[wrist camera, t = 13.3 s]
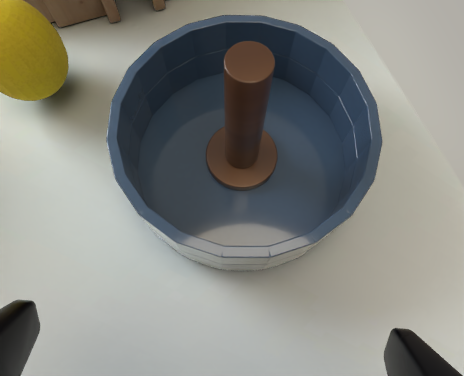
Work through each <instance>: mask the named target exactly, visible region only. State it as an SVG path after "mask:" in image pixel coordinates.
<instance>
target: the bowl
mask: <svg viewBox="0 0 464 376" xmlns="http://www.w3.org/2000/svg"><path fill="white" fill-rule="evenodd" d="M243 41H254V42H258V43H261V44H263V45H265V46H266V47H267V48H268V49H269V50H270V51H271V52H272V54H273V56H274V59H275V67H274V73H273V78H272V84H271V89H270V94H269V100H268V105H267V111H266V116H265V121H264V127H263V130H265V131H266V132H267V133H268V134H269V135H270V136H271V138H272V139H273V141H274V143H275V145H276V148H277V156H278V157H277V163H276V167H275V170H274V172H273V174H272V175H271V177H270V178H269V179H268V180H267V181H266V182H265V183H264V184H262V185H261V186H259V187H257V188H254V189H251V190H244V191H240V190H233V189H229V188H227V187H225V186H223V185H221V184H220V183H219V182H217V181H216V180H215V179H214V178H213V176H212V175H211V173H210V171H209V169H208V166H207V161H206V149H207V145H208V143H209V141H210V139H211V137H212V136H213V135H214V134H215V133H216V132H217V131H218V130H219V129H221V128H222V127H224V126H225V108H224V57H225V54H226V53H227V51H228V50H229V49H230V48H231V47H232V46H233V45H235V44H237V43H240V42H243ZM106 139H107V140H106V142H107V146H108V150H109V155H110V159H111V164H112V168H113V172H114V177H115V179H116V181H117V183H118V184H119V186H120V187H121V189H122V190H123V192H124V193H125V195H126V196H127V198H128V199H129V201H130V202H131V204H132V205H133V207H134V209H135V210H136V212H137V213H138V214H139V216H140V217H141V218H142V219H143V220H144V221H145V222H146V224H147V225H148V226H149V227H150V228H151V229H152V231H153V232H154V233H155V234H156V235H157V236H158V237H160V238H161V239H162V240H163V241H165V242H166V243H167V244H168V245H170V246H171V247H172V248H173V249H175V250H176V251H178V252H179V253H181V254H182V255H183V256H185V257H187V258H189V259H192V260H194V261H196V262H199V263H201V264H204V265H207V266H211V267H214V268H218V269H223V270H231V271H253V270H264V269H267V268H270V267H274V266H278V265H281V264H283V263H286V262H288V261H291V260H294V259H297V258H299V257H300V256H302V255H303V254H304V253H306V252H307V251H308V250H310V249H311V248H312V247H314V246H315V245H316V244H317V243H319V242H320V241H321V240H323V239H324V238H325V237H327V236H328V235H329V234H330V233H332V232H333V231H334V230H335V229H336V228H338V227H339V226H340V225H341V224H342V223H344V222H345V221H346V220H347V219H349V218H350V217H351V216H352V215H353V213H354V212H355V210H356V208H357V207H358V205H359V204H360V202H361V201H362V199H363V197H364V196H365V194H366V193H367V191H368V190H369V188H370V187H371V185H372V183H373V182H374V180H375V175H376V170H377V166H378V161H379V156H380V151H381V147H382V135H381V129H380V122H379V116H378V109H377V104H376V101H375V99H374V97H373V96H372V94H371V92H370V90H369V88H368V86H367V84H366V82H365V80H364V78H363V76H362V75H361V73H360V71H359V70H358V69H357V68H356V67H355V66H354V65H353V64H352V63H351V62H350V61H349V60H348V59H347V58H346V57H345V56H344V55H343V54H342V53H341V52H340V51H339V50H338V49H337V48H336V47H335V46H334V45H333V44H332V43H330V42H328V41H327V40H325V39H323V38H321V37H320V36H318V35H316V34H314V33H312V32H311V31H309V30H307V29H305V28H304V27H302V26H299V25H297V24H293V23H289V22H285V21H282V20H278V19H274V18H270V17H266V16H261V15H225V16H224V15H222V16H218V17H214V18H210V19H206V20H202V21H198V22H194V23H190V24H187V25H185V26H183V27H181V28H179V29H178V30H176V31H174V32H172V33H170V34H168V35H167V36H165V37H163V38H161V39H159V40H157V41H156V42H154V43H153V44H152V45H151V46H150V47H149V48H148V49H147V50H146V51H145V52H144V53H143V54H142V55H141V56H140V57H139V58H138V59H137V60H136V61H135V62H134V63H133V64H132V65H131V66H130V67H129V68H128V70H127V72H126V74H125V76H124V78H123V80H122V82H121V84H120V86H119V87H118V89H117V91H116V93H115V95H114V97H113V99H112V102H111V107H110V114H109V122H108V130H107V137H106Z"/></svg>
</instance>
